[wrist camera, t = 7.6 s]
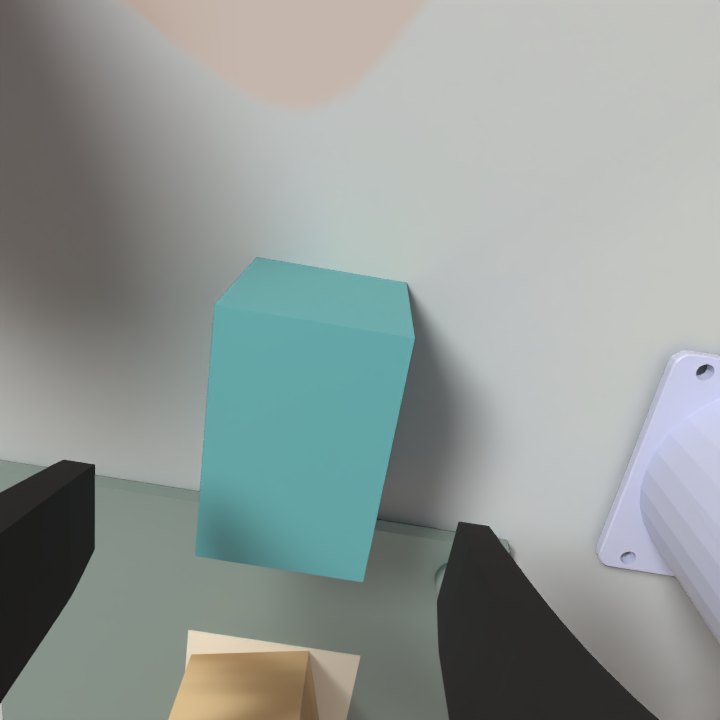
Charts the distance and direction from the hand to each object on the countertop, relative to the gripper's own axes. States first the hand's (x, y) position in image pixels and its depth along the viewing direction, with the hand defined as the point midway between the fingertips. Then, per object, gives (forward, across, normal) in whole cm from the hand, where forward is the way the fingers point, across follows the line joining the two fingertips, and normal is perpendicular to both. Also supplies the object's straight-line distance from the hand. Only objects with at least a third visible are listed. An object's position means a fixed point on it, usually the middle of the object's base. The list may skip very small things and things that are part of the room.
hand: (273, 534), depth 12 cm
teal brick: (+8, 0, 0) cm, 8 cm away
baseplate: (+8, +1, +14) cm, 16 cm away
